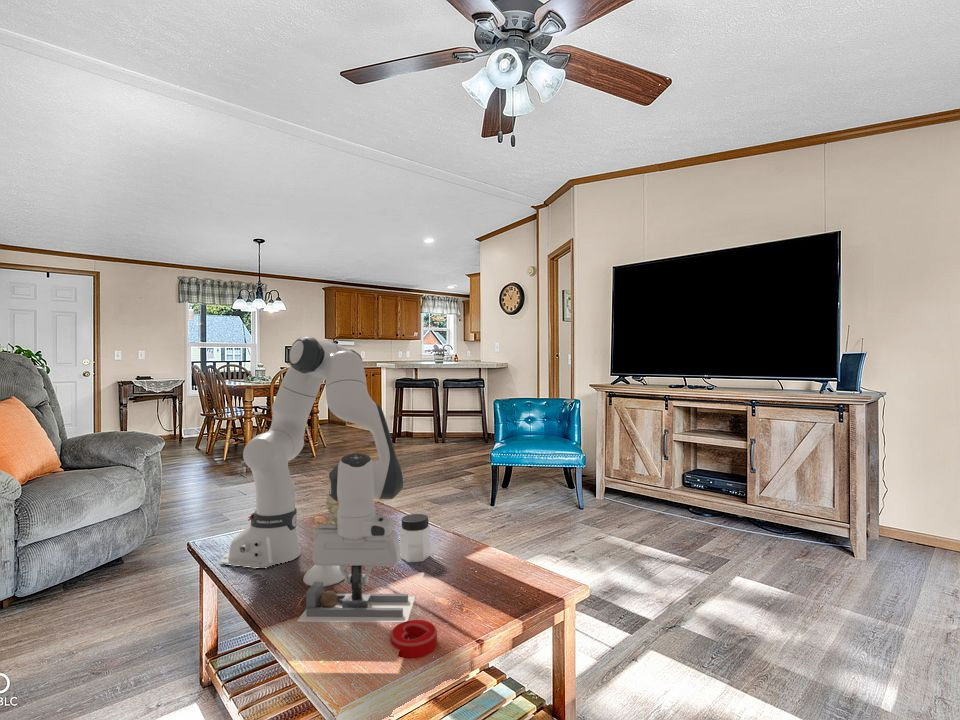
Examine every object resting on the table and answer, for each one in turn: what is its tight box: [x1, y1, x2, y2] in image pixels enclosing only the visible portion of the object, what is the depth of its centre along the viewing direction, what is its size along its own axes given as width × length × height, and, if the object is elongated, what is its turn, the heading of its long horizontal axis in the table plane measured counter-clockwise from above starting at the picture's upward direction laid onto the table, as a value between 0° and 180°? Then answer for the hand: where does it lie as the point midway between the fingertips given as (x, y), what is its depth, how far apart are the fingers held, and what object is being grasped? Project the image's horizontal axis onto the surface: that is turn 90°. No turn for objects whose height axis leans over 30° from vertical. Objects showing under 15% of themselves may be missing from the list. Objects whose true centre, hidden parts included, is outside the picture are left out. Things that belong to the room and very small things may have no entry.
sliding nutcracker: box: [296, 582, 417, 623], centre depth 115 cm, size 25×12×6 cm, turn 89°
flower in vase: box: [302, 494, 345, 587], centre depth 133 cm, size 13×11×25 cm
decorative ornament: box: [390, 619, 438, 660], centre depth 103 cm, size 10×10×3 cm
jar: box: [399, 513, 431, 563], centre depth 149 cm, size 9×8×12 cm
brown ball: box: [320, 590, 338, 608], centre depth 115 cm, size 4×4×4 cm
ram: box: [342, 566, 372, 608], centre depth 115 cm, size 6×3×10 cm, turn 89°
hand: (356, 582), depth 115 cm, fingers closed on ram, 2 cm apart
